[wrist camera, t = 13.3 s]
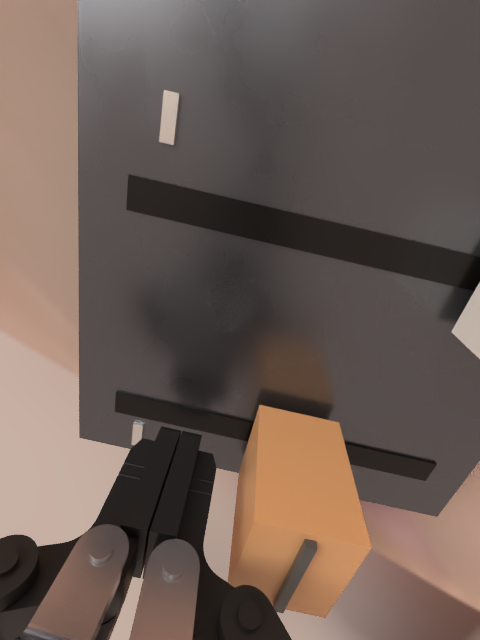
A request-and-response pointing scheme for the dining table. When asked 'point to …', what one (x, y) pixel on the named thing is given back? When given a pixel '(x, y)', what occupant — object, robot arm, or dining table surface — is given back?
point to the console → (283, 228)
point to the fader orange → (297, 513)
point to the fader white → (470, 324)
